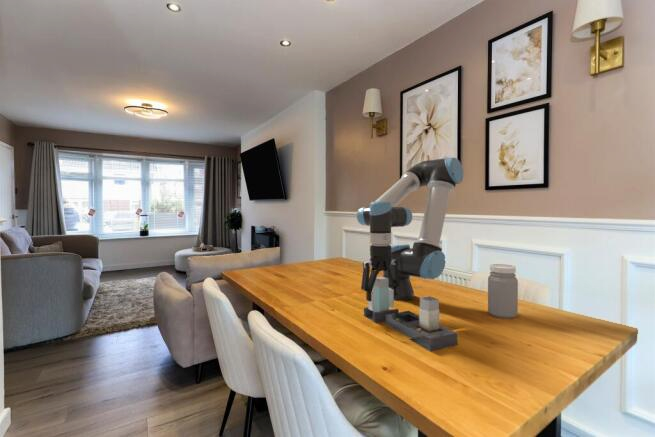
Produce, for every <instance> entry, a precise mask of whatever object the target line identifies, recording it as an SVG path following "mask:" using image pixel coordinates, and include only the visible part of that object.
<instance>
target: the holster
mask: <svg viewBox="0 0 655 437" xmlns="http://www.w3.org/2000/svg"><path fill="white" fill-rule="evenodd" d="M398 312H400V310H399V308H391V309H389V310H385V311H379V312H373V311H371V310H369V309H368V306H366V307H363V317H365V318H367V320H370V321H372V323H375V324H377V323H382V322H385V315H387V314H393V313H398Z"/></svg>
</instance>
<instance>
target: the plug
mask: <svg viewBox="0 0 655 437" xmlns="http://www.w3.org/2000/svg"><path fill="white" fill-rule="evenodd" d="M372 292H374V311H373V312H379V311H385V310H390V307H389V287H388V278H385V277H383V276H377V277H376V280H375V283H374V286H373V289H372Z"/></svg>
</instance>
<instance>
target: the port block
mask: <svg viewBox="0 0 655 437" xmlns="http://www.w3.org/2000/svg"><path fill="white" fill-rule="evenodd" d="M439 303H440V299H438V298H435V297H434V296H430V295H429V296H424V297H423V296H422V297H420V298H419V307H418V308H419V310H418V311H419V314H417V313H415V312H413V311H410V310H405V311H399V312H398V313H393V314H387V315H385V321H384V324H385V325H387V326H388V327H390V328H392V329H394V330H395V331H397V332H398V333H400V334H401V335H404V336H406V337H408V338H409V340H410V341H411V342H413V343H414V344H417V345H418V346H419V347H422V348H423V349H425V350H427V351H428V352H434V351H438V350H441V349H446V348H450V347H454V346H457V345H458V332H456V331H455V330H452V329H450V328H448V327H445V326H443V325H441V324H440V309H439V308H440V307H439V306H440V304H439Z"/></svg>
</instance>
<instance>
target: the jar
mask: <svg viewBox="0 0 655 437" xmlns="http://www.w3.org/2000/svg"><path fill="white" fill-rule="evenodd" d="M489 271H490V272H489V275H488V277H487V312H488V313H489V314H490V316H493V317H496V318H499V319H505V320H506V319H514V318H516V317H517V316H518V314H519V312H518V310H519V309H518V308H519V307H518V303H519V302H518V301H519V297H518V296H519V294H518V292H519V281H518V278H517V277H516V276H517V275H516V274H515V273H517V272H516V271H517V269H516V266H515V265H511V264H503V263H493V264H490V265H489Z"/></svg>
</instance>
